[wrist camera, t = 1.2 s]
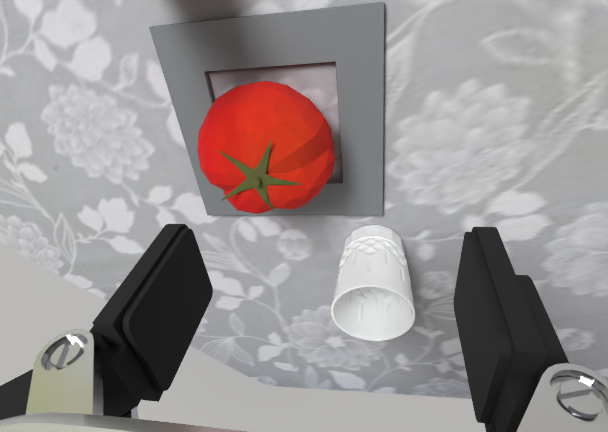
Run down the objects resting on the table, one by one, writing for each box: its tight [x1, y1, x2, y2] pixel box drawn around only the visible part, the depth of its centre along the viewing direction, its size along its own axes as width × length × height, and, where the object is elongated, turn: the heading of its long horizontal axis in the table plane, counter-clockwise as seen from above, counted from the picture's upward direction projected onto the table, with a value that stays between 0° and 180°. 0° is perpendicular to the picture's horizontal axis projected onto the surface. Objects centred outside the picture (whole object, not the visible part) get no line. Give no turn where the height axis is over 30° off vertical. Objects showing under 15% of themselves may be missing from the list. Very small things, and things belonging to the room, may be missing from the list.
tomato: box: [197, 81, 335, 214], centre depth 33 cm, size 12×12×10 cm
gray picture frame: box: [149, 2, 384, 215], centre depth 37 cm, size 20×20×1 cm
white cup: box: [331, 225, 415, 341], centre depth 40 cm, size 8×8×10 cm
